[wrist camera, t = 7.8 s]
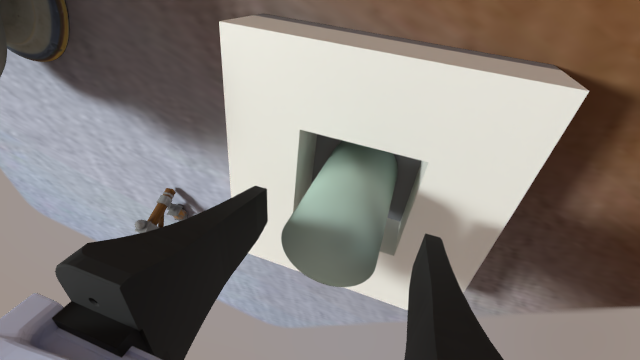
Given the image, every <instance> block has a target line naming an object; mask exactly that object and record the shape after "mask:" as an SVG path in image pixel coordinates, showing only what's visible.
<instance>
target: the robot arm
mask: <svg viewBox="0 0 640 360" xmlns="http://www.w3.org/2000/svg"><path fill="white" fill-rule="evenodd" d="M267 222H268V213H267V189H266V188H262V187H259V186H253V187H251V188H249V189H247V190H246V191H244V192H242V193H240V194H238V195H236V196H234V197H232V198H230V199H228V200H227V201H225V202H223V203H221V204H219V205H217V206H215V207H212V208H210V209H208V210H206V211H204V212H202V213H199V214H197V215H195V216H193V217H190V218H188V219H185V220H182V221H179V222H177V223H174V224H171V225H168V226H164V227H161V228H158V229H154V230H151V231H148V232H144V233H140V234H135V235H131V236H126V237H122V238H116V239H110V240H104V241H98V242H92V243H87V244H86V245H84V246H83V247H82V248H80V249H79V250H78V251H76V252H75V253H73V254H72V255H71V256H69V257H68V258H67V259H65V260H64V261H63V262H61V263H60V264H59V265H57V267H56V271H55V272H56V276H57V278H58V280H59V282H60V284H61V285H62V287H63V288H64V290H65V292H66V293H67V295H68V296H69V298H70V299H71V302H70V303H69V304H68V305H66V306H65V307H63V306H62V305H60V304H59V303H57V302H56V301H54V300H51V299H49V298H47V297H45V296H43V295H40V294H38V293H33V294H32V295H31V296H29V297H28V298H27V299H25V300H24V301H23V302H21V303H20V304H19V305H17V306H16V307H15V308H13V309H12V310H11V311H10V312H8V313H7V314H6V315H4V316H3V317H2V318H0V360H184V358H185V356H186V354H187V352H188V350H189V348H190V346H191V344H192V342H193V340H194V338H195V336H196V335H197V333H198V331H199V329H200V327H201V325H202V323H203V322H204V320H205V318H206V316H207V314H208V313H209V311H210V309H211V307H212V305H213V304H214V302H215V300H216V299H217V297H218V295H219V294H220V292H221V290H222V289H223V287H224V285H225V284H226V282H227V281H228V279H229V278H230V276H231V275H232V274H233V272H234V271H235V270H236V268H237V267H238V266H239V264H240V263H241V262H242V260H243V259H244V258H245V256H246V255H247V254H248V252H249V251H250V250H251V248H252V247H253V246H254V244H255V243H256V242H257V240H258V239H259V237H260V235H261V233H262V232H263V230H264V228H265V226H266V224H267ZM405 360H503V358H502V357H501V355H500V354H499V353H498V351H497V350H496V349H495V347H494V346H493V344H492V343H491V342H490V340H489V338H488V337H487V335H486V333H485V332H484V330H483V329H482V327H481V326H480V324H479V322H478V321H477V319H476V317H475V315H474V313H473V312H472V310H471V308H470V306H469V304H468V302H467V300H466V298H465V296H464V294H463V292H462V290H461V288H460V286H459V284H458V281H457V279H456V277H455V274H454V272H453V270H452V267H451V265H450V262H449V259H448V256H447V254H446V251H445V247H444V244H443V241H442V239H441V238H440V237H437V236H433V235H430V234H426V233H425V235H424V238H423V241H422V243H421V246H420V248H419V251H418V254H417V256H416V259H415V262H414V264H413V267H412V273H411V279H410V285H409V298H408V321H407V343H406V353H405Z"/></svg>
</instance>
